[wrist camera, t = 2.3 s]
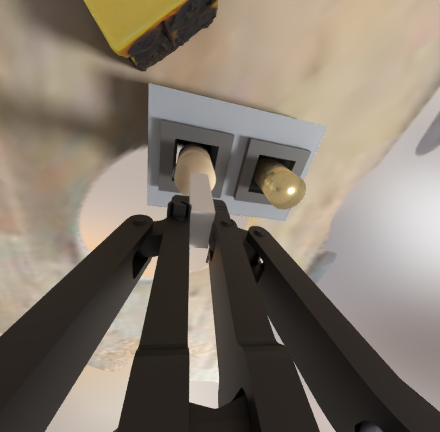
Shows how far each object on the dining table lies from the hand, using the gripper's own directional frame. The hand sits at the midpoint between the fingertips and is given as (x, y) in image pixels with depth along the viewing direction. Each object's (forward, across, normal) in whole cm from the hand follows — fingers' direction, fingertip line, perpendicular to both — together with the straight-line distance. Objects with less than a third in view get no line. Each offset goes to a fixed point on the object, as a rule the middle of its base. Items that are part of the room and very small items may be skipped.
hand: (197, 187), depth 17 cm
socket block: (+14, +5, 0) cm, 15 cm away
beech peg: (+9, 0, 0) cm, 9 cm away
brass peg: (+9, +10, 0) cm, 13 cm away
